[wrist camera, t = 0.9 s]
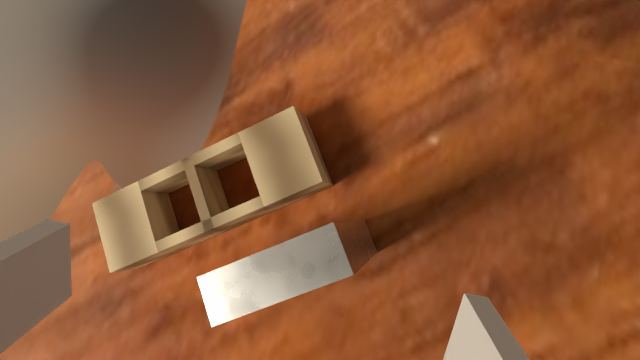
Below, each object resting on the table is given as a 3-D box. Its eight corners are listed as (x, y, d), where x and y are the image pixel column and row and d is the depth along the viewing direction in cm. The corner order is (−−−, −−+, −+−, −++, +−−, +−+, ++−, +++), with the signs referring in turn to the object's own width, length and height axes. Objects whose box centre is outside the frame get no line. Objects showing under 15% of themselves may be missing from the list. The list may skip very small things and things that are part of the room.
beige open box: (306, 118, 35) (293, 105, 31) (333, 185, 34) (322, 181, 30) (123, 204, 39) (92, 203, 35) (141, 267, 38) (110, 273, 34)
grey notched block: (364, 220, 33) (333, 222, 20) (377, 252, 32) (353, 274, 19) (276, 255, 34) (196, 277, 22) (287, 286, 34) (211, 327, 21)
